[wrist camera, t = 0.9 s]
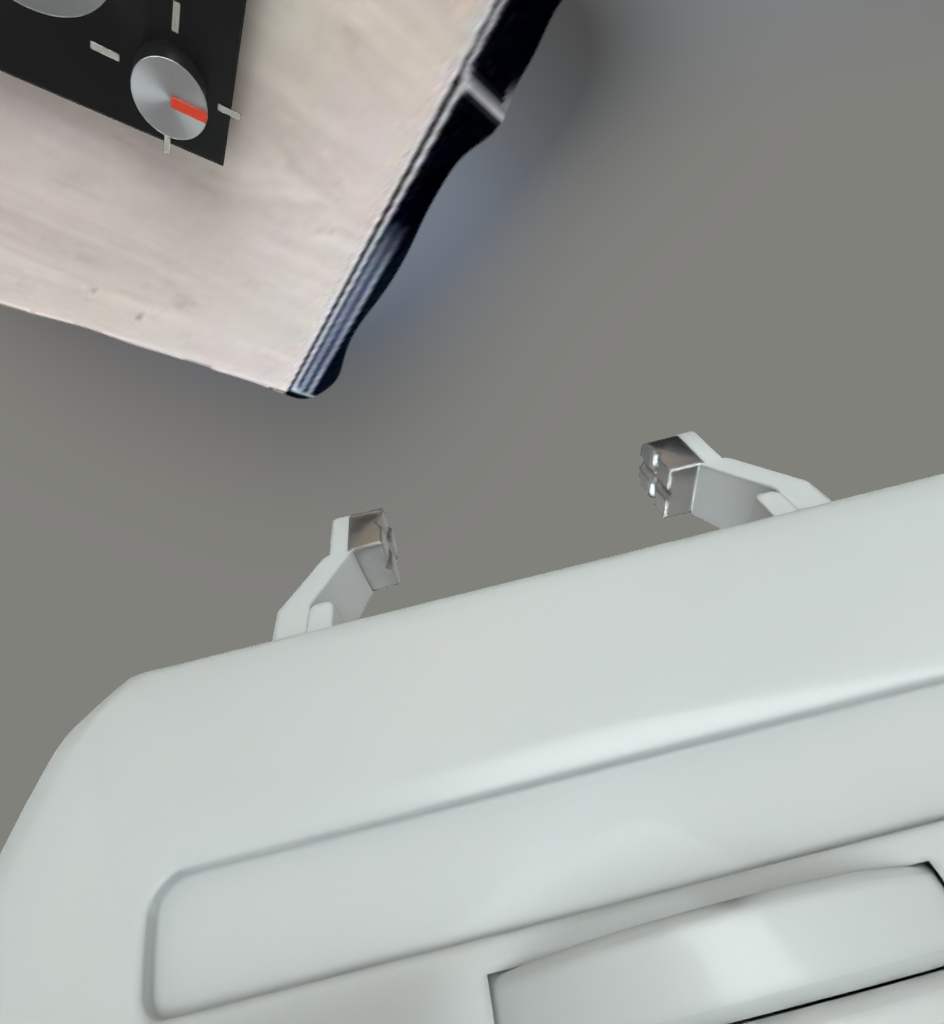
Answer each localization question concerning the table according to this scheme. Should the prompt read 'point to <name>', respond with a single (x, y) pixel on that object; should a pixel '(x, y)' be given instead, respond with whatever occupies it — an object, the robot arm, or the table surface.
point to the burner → (62, 7)
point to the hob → (128, 57)
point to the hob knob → (169, 90)
